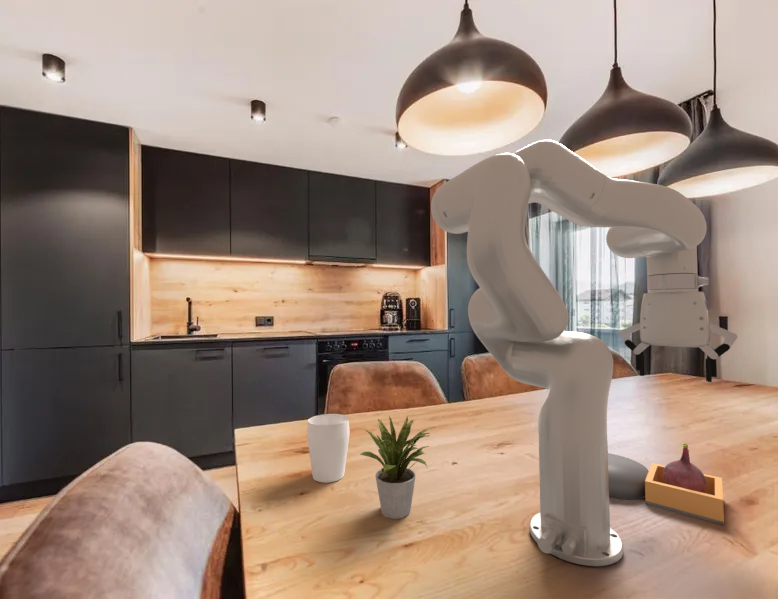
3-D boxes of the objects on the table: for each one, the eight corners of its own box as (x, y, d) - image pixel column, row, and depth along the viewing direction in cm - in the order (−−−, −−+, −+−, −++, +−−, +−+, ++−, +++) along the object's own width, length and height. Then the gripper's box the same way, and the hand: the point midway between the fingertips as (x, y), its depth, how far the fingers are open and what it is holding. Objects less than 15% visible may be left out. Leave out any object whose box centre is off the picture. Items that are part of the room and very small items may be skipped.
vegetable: (711, 511, 63) (709, 452, 63) (666, 502, 66) (665, 446, 66) (702, 496, 68) (700, 441, 69) (661, 488, 71) (659, 436, 72)
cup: (337, 488, 73) (337, 427, 74) (298, 482, 76) (298, 423, 77) (356, 470, 82) (356, 415, 82) (321, 465, 85) (321, 412, 85)
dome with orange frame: (724, 529, 58) (723, 504, 59) (560, 483, 75) (560, 463, 75) (722, 496, 69) (721, 474, 69) (579, 462, 85) (578, 444, 85)
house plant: (436, 544, 56) (434, 434, 56) (347, 535, 58) (347, 429, 58) (440, 497, 70) (438, 409, 70) (368, 491, 72) (367, 407, 73)
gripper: (734, 284, 66) (738, 380, 65) (621, 288, 77) (623, 370, 77) (736, 281, 60) (740, 387, 60) (614, 286, 72) (616, 375, 71)
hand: (674, 377), depth 68 cm, fingers open, 9 cm apart
